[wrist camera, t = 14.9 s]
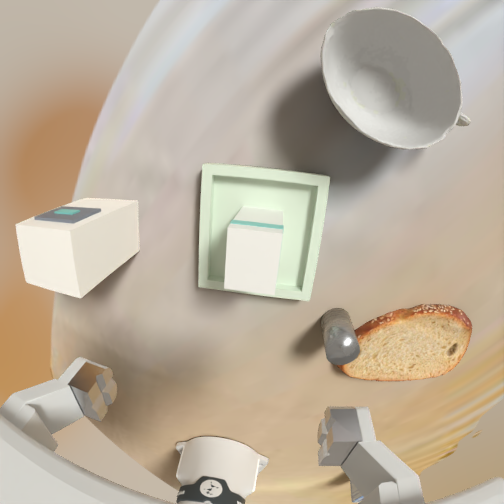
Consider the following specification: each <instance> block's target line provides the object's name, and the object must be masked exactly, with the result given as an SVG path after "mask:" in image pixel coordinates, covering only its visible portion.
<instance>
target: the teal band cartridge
mask: <svg viewBox="0 0 504 504" xmlns="http://www.w3.org/2000/svg"><path fill="white" fill-rule="evenodd" d="M283 230H284V225H283V211H281V210H272V209H264V208H255V207H245V206H243V207H242V208H241V209H240V211H239V212H238V214H237V215H236V216H235V218H234V219H233V220H232V221H231V222H230V225H229V226H228V230H227V246H226V262H225V281H224V289H231V290H238V291H246V292H253V293H261V294H269V295H275V289H276V283H277V275H278V268H279V261H280V253H281V246H282V238H283Z"/></svg>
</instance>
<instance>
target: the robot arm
mask: <svg viewBox="0 0 504 504" xmlns="http://www.w3.org/2000/svg"><path fill="white" fill-rule="evenodd" d="M113 375H114V374H113V372H112V369H111V368H108V367H106V366H103V365H100V364H98V363H95V362H93V361H90V360H87V359H85V358H82V357H78V358H76V359H75V360H74V362H73V363H72V364H71V365H70V366H69V367H68V368H67V370H66V371H65V372H64V373H63V374H62V375H61V377H60V378H59V379H58V380H57V379H53V380H50V381H48V382H45V383H42V384H39V385H36V386H34V387H31V388H28V389H25V390H22V391H19V392H16V393H13V394H12V395H11V396H10V397H9V398H8V400H7V401H6V402H5V403H4V404H3V405H2V407H1V408H0V504H175V503H171V502H168V501H165V500H161V499H158V498H155V497H152V496H148V495H146V494H143V493H140V492H137V491H134V490H132V489H129V488H126V487H124V486H121V485H119V484H116V483H114V482H112V481H109V480H107V479H105V478H102V477H100V476H98V475H96V474H94V473H92V472H90V471H88V470H86V469H84V468H82V467H80V466H78V465H76V464H74V463H72V462H70V461H69V460H67V459H65V458H63V457H62V456H60V455H58V454H56V453H55V452H54V451H55V449H56V448H57V446H58V444H57V441H56V440H55V439H54V437H53V436H52V434H53V433H55V432H57V431H59V430H61V429H62V428H64V427H66V426H68V425H70V424H71V423H73V422H75V421H77V420H78V419H80V418H82V417H83V416H84V415H85V416H87V417H90V418H92V419H95V420H97V421H100V422H101V421H102V420H103V418H104V416H105V415H106V413H107V412H108V408H107V406H108V405H110V404H112V403H113V402H114V400H115V398H116V395H117V384H116V382H115V381H114V380H113V379H112V376H113ZM318 443H319V444H320V445H321V447H320V449H319V451H318V459H319V466H341V468H342V469H343V471H344V472H345V473H346V475H347V476H348V477H349V479H350V480H351V481H352V483H353V484H354V485H355V487H356V488H357V489H358V491H359V492H360V493H361V495H362V496H363V497H364V499H363V500H362V501H360V502H359V503H358V504H504V479H503V478H501V477H495V478H492V479H490V480H487V481H485V482H483V483H481V484H479V485H476V486H474V487H471V488H469V489H466V490H464V491H461V492H459V493H456V494H453V495H450V496H447V497H444V498H441V499H438V500H435V501H432V502H428V503H425V502H424V498H423V493H422V489H421V484H420V480H419V476H418V475H417V474H416V473H415V472H414V471H413V470H411V469H410V468H409V467H408V466H407V465H406V464H405V463H404V462H403V461H402V460H400V459H399V458H398V457H397V456H396V455H395V454H394V453H393V452H392V451H391V450H390V449H388V448H387V447H386V446H385V445H384V444H383V443H382V442H381V441H376V437H375V432H374V428H373V424H372V419H371V415H370V411H369V408H368V407H327V408H326V410H325V418H323V419H322V420H321V422H320V424H319V428H318ZM176 449H177V450H178V452H179V453H180V455H181V458H180V462H179V465H178V469H177V473H176V477H177V478H178V481H179V482H180V483H181V485H182V486H181V487H180V490H179V493H178V495H177V503H178V504H245V498H246V496H248V495H250V494H251V493H252V492H254V491H255V489H256V480H257V476H258V474H259V473H260V472H261V471H262V470H263V468H264V467H265V466H266V465H267V464H268V461H269V459H268V458H267V457H265V456H262V455H260V454H258V453H256V452H255V451H254V450H253V449H251V448H250V447H248V446H246V445H244V444H242V443H240V442H237V441H233V440H230V439H225V438H220V437H197V438H194V439H191V440H189V441H187V442H178V443H177V444H176Z"/></svg>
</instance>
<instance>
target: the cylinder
mask: <svg viewBox="0 0 504 504" xmlns="http://www.w3.org/2000/svg"><path fill="white" fill-rule="evenodd" d="M321 327H322V333H323V339H324V345H325V351H326V357H327V359H328V361H329V362H331V363H332V364H335V365H345V364H348V363H350V362H352V361H354V360H355V359H356V358H357V357H358V355H359V353H360V346H359V343H358V340H357V337H356V334H355V331H354V328H353V325H352V322H351V319H350V316H349V314H348V312H347V311H346V310H344V309H341V308H334V309H331V310H329V311H327V312H326V313H325V314H324V315H323V316H322V318H321Z"/></svg>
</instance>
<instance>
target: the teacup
mask: <svg viewBox="0 0 504 504" xmlns="http://www.w3.org/2000/svg"><path fill="white" fill-rule="evenodd" d="M321 67H322V74H323V79H324V83H325V87H326V90H327V92H328V94H329V97H330V99H331V101H332V103H333V104H334V106H335V107H336V109H337V110H338V112H339V113H340V114H341V115H342V117H343V118H344V119H345V120H346V121H347V122H348V123H349V124H350V125H351V126H352V127H354V128H355V129H356V130H357V131H359V132H360V133H362V134H363V135H365V136H366V137H368V138H370V139H372V140H374V141H376V142H378V143H381V144H383V145H386V146H389V147H393V148H400V149H424V148H428V147H430V146H431V145H433V144H435V143H437V142H439V141H441V140H442V139H444V138H445V136H446V134H447V133H448V132H449V131H450V130H452V128H453V127H454V126H455V125H458V126H467V125H469V124H470V122H471V121H470V119H469V117H467V116H466V115H464V114H462V113H461V109H462V101H463V99H462V90H461V81H460V78H459V75H458V72H457V69H456V67H455V64H454V59H453V57H452V55H451V54H450V52H449V50H448V49H447V48H446V47H445V46H444V45H443V44H442V40H441V39H440V38H439V37H438V36H437V35H436V34H435V33H434V32H433V31H432V30H431V29H429V28H428V27H427V26H425V25H424V24H423V23H421V22H420V21H419V20H417V19H415V18H414V17H412V16H410V15H408V14H405V13H403V12H400V11H397V10H394V9H386V8H381V7H374V8H370V9H369V8H367V9H362V10H352V11H351V12H349V13H347V14H346V15H345V16H343V17H341V18H338V19H337V20H336V21H335V22H333V23H332V24H330V26H329V28H328V30H327V32H326V34H325V37H324V41H323V44H322V48H321Z"/></svg>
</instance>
